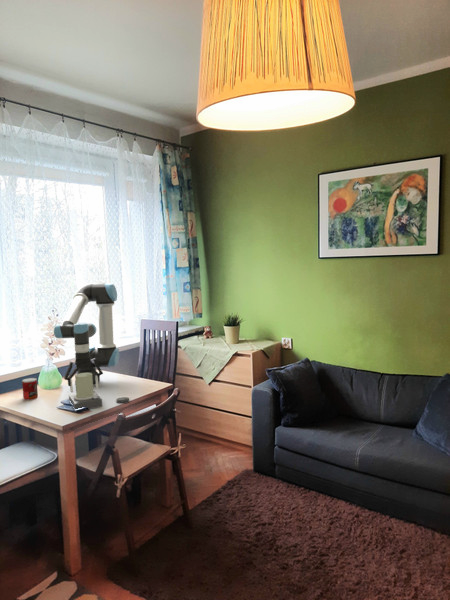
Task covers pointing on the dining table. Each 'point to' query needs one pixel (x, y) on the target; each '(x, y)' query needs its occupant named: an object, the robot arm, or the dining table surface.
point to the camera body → (86, 401)
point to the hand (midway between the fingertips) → (84, 389)
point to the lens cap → (122, 400)
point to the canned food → (30, 388)
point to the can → (84, 385)
